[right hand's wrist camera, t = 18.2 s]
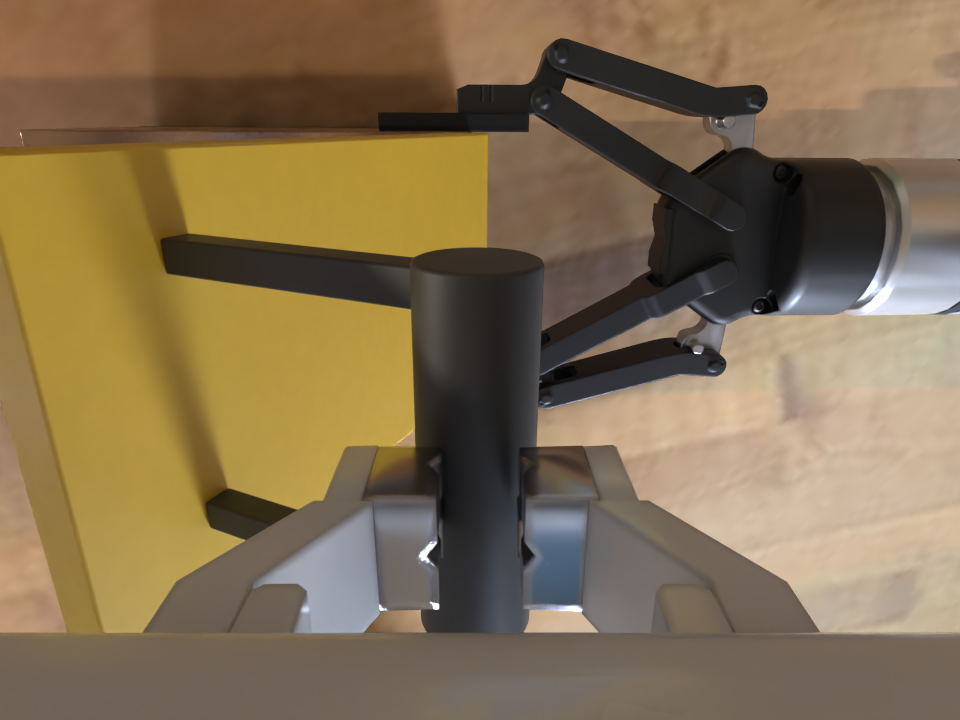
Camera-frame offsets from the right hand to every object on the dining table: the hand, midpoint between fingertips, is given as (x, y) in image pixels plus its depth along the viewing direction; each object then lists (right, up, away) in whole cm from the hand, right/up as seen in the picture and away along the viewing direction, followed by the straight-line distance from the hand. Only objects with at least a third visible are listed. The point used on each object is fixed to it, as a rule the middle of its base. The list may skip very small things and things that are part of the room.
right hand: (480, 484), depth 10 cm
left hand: (-4, +8, +20) cm, 22 cm away
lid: (-5, +3, +9) cm, 10 cm away
